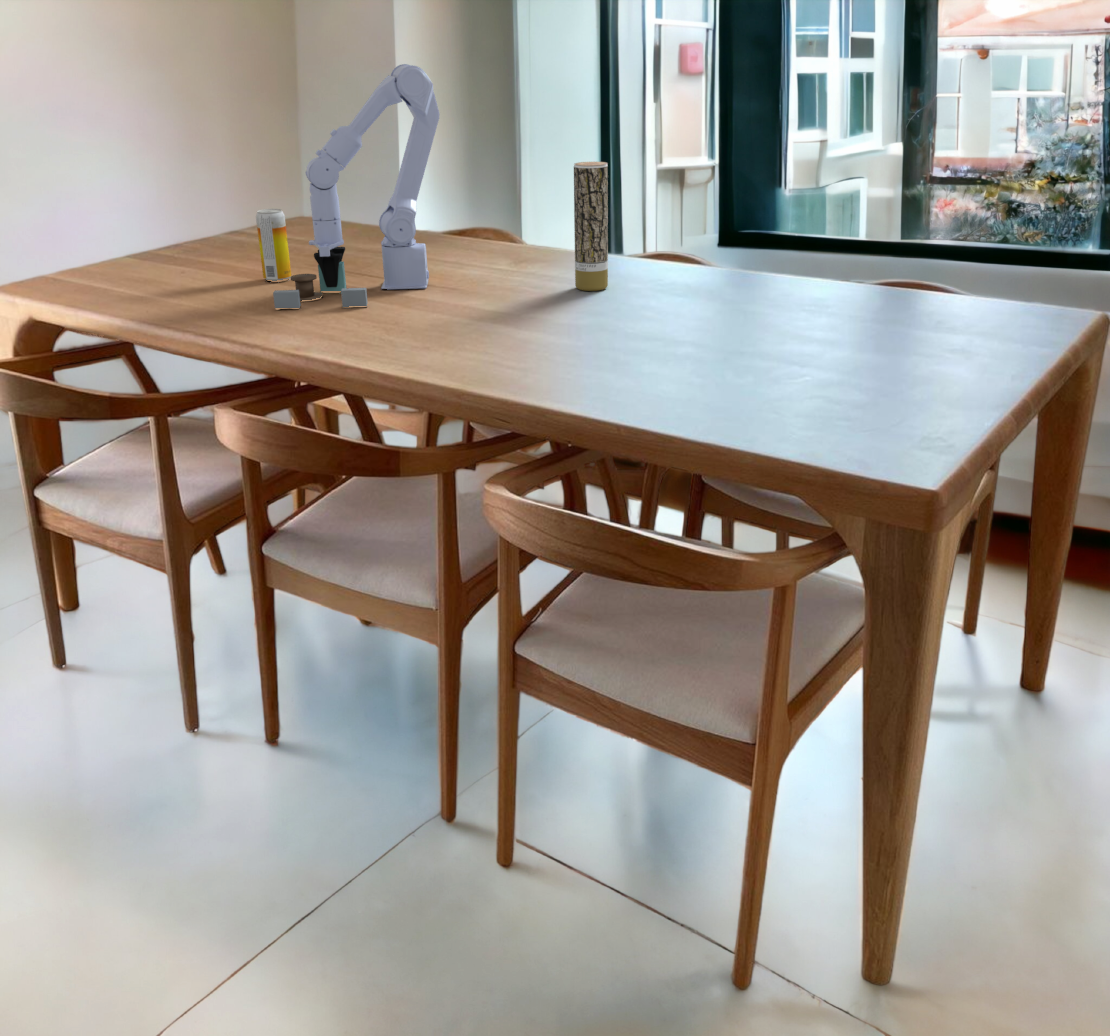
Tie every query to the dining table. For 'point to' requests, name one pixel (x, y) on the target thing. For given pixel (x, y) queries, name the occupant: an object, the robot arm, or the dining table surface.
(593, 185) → the paper tube
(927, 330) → the dining table surface
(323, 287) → the block
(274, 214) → the beer can
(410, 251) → the robot arm
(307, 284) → the bobbin
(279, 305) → the grey bricks
